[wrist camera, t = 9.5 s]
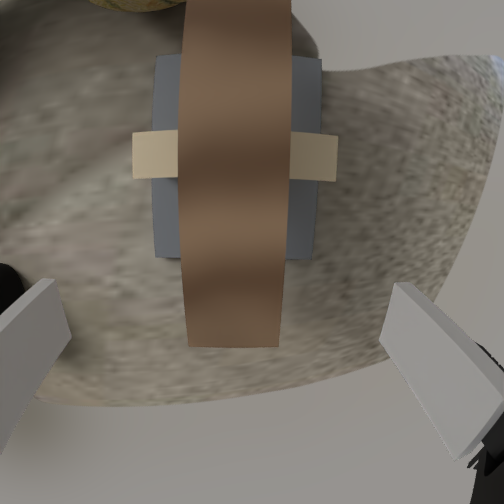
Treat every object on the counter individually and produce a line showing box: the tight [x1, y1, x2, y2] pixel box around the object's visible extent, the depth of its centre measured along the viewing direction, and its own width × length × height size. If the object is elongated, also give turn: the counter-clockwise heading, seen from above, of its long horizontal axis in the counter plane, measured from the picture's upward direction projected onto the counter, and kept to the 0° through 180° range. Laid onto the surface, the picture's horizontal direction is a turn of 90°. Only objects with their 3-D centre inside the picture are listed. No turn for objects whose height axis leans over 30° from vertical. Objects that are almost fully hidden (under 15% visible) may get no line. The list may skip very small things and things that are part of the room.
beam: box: [178, 0, 292, 348], centre depth 15 cm, size 20×5×5 cm, turn 179°
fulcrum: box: [132, 54, 338, 259], centre depth 20 cm, size 18×14×7 cm
